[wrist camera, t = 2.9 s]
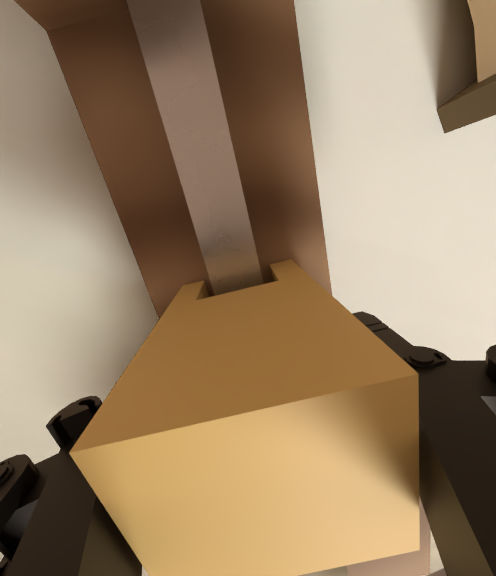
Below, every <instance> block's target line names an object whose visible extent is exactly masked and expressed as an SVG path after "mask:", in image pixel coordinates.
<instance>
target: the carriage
mask: <svg viewBox="0 0 496 576" xmlns="http://www.w3.org/2000/svg"><path fill="white" fill-rule="evenodd" d="M270 270H271V275H272V279H273V282H270V283H266V284H262V285H258V286H254V287H250V288H245V289H241V290H237V291H233V292H229V293H225V294H220V295H216V296H212V297H209V294H208V291H207V288H206V285H205V281H204V280H203V281H199V282H195V283H191V284H187V285H183V286H182V287H181V289H180V290H179V292H178V293H177V294H176V296H175V297H174V299H173V300H172V302H171V303H170V305H169V306H168V308H167V309H166V311H165V312H164V314H163V315H162V317H161V318H160V320H159V321H158V322H157V324H156V325H155V327H154V328H153V330H152V331H151V333H150V334H149V336H148V337H147V339H146V340H145V342H144V343H143V345H142V346H141V348H140V349H139V350H138V352H137V353H136V355H135V356H134V358H133V359H132V361H131V362H130V364H129V365H128V367H127V368H126V370H125V371H124V373H123V374H122V376H121V377H120V378H119V380H118V381H117V383H116V384H115V386H114V387H113V389H112V390H111V392H110V393H109V395H108V396H107V398H106V399H105V401H104V402H103V404H102V405H101V406H100V408H99V409H98V411H97V412H96V414H95V415H94V417H93V418H92V420H91V421H90V423H89V424H88V426H87V427H86V429H85V430H84V432H83V433H82V434H81V436H80V437H79V439H78V440H77V442H76V443H75V445H74V446H73V448H72V449H71V451H70V452H69V454H70V455H71V457H72V458H73V460H74V462H75V463H76V465H77V466H78V468H79V469H80V471H81V472H82V474H83V475H84V477H85V478H86V480H87V481H88V483H89V484H90V486H91V487H92V489H93V490H94V492H95V494H96V495H97V497H98V498H99V500H100V501H101V503H102V504H103V506H104V507H105V509H106V510H107V512H108V513H109V515H110V516H111V518H112V519H113V521H114V523H115V524H116V526H117V527H118V529H119V530H120V532H121V533H122V535H123V536H124V538H125V539H126V541H127V542H128V544H129V545H130V547H131V548H132V550H133V551H134V553H135V555H136V556H137V558H138V559H139V561H140V562H141V564H142V565H143V567H144V568H145V570H146V571H147V573H148V574H149V576H299V575H303V574H308V573H313V572H318V571H323V570H327V569H332V568H337V567H342V566H346V565H351V564H356V563H361V562H366V561H370V560H375V559H380V558H385V557H389V556H394V555H399V554H404V553H409V552H413V551H418V550H420V519H419V382H418V373H417V372H416V371H415V370H414V369H413V368H412V367H410V366H409V365H408V364H407V363H406V362H405V361H404V360H403V359H402V358H400V357H399V356H398V355H397V354H396V353H395V352H394V351H393V350H392V349H390V348H389V347H388V346H387V345H386V344H385V343H384V342H383V341H382V340H380V339H379V338H378V337H377V336H376V335H375V334H374V333H373V332H372V331H370V330H369V329H368V328H367V327H366V326H365V325H364V324H363V323H362V322H360V321H359V320H358V319H357V318H356V317H355V316H354V315H353V314H352V313H350V312H349V311H348V310H347V309H346V308H345V307H344V306H343V305H342V304H340V303H339V302H338V301H337V300H336V299H335V298H334V297H333V296H332V295H330V294H329V293H328V292H327V291H326V290H325V289H324V288H323V287H322V286H320V285H319V284H318V283H317V282H316V281H315V280H314V279H313V278H312V277H310V276H309V275H308V274H307V273H306V272H305V271H304V270H303V269H302V268H300V267H299V266H298V265H297V264H296V263H295V262H294V261H293V260H292V259H290V260H286V261H282V262H278V263H274V264H270Z"/></svg>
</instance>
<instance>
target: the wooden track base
mask: <svg viewBox="0 0 496 576" xmlns="http://www.w3.org/2000/svg"><path fill="white" fill-rule="evenodd" d="M14 1H15V2H16V3H17V4H19V5H20V6H21V7H22V8H23V9H24V10H25V11H26V12H27V13H28V14H29V15H30V16H31V17H32V18H33V19H34V20H36V21H37V22H38V23H39V24H40V25H41V26H42V27H43V28H44V29H45V30H46V31H47V34H48V36H49V39H50V41H51V44H52V46H53V49H54V51H55V54H56V57H57V59H58V62H59V64H60V67H61V69H62V72H63V74H64V77H65V80H66V82H67V85H68V87H69V90H70V92H71V95H72V97H73V100H74V103H75V105H76V108H77V110H78V113H79V115H80V118H81V120H82V123H83V126H84V128H85V131H86V133H87V136H88V138H89V141H90V143H91V146H92V149H93V151H94V154H95V156H96V159H97V161H98V164H99V166H100V169H101V172H102V174H103V177H104V179H105V182H106V184H107V187H108V189H109V192H110V195H111V197H112V200H113V202H114V205H115V207H116V210H117V212H118V215H119V218H120V220H121V223H122V225H123V228H124V230H125V233H126V235H127V238H128V241H129V243H130V246H131V248H132V251H133V253H134V256H135V258H136V261H137V264H138V266H139V269H140V271H141V274H142V276H143V279H144V281H145V284H146V287H147V289H148V292H149V294H150V297H151V299H152V302H153V304H154V307H155V310H156V312H157V315H158V317H159V320H160V318H161V317H162V315H163V314H164V312H165V311H166V309H167V308H168V306H169V305H170V303H171V302H172V300H173V299H174V297H175V296H176V294H177V293H178V292H179V290H180V289H181V287H182V286H183V285H187V284H191V283H195V282H199V281H203V280H204V281H205V285H206V288H207V291H208V294H209V297H212V296H215V295H214V292H213V289H212V285H211V282H210V279H209V275H208V272H207V269H206V265H205V262H204V259H203V255H202V252H201V249H200V245H199V242H198V239H197V235H196V232H195V229H194V225H193V222H192V218H191V215H190V212H189V208H188V205H187V202H186V198H185V195H184V192H183V188H182V185H181V182H180V178H179V175H178V172H177V168H176V165H175V162H174V158H173V155H172V152H171V148H170V145H169V142H168V138H167V135H166V131H165V128H164V125H163V121H162V118H161V115H160V111H159V108H158V105H157V101H156V98H155V95H154V91H153V88H152V85H151V81H150V78H149V75H148V71H147V68H146V65H145V61H144V58H143V55H142V51H141V48H140V45H139V41H138V38H137V34H136V31H135V28H134V24H133V21H132V18H131V14H130V11H129V8H128V4H127V1H126V0H14ZM200 3H201V7H202V12H203V16H204V20H205V25H206V29H207V34H208V38H209V43H210V47H211V52H212V56H213V61H214V65H215V69H216V74H217V78H218V83H219V87H220V92H221V96H222V101H223V105H224V109H225V114H226V118H227V123H228V127H229V132H230V136H231V141H232V145H233V150H234V154H235V158H236V163H237V167H238V172H239V176H240V181H241V185H242V190H243V194H244V199H245V203H246V207H247V212H248V216H249V221H250V225H251V230H252V234H253V239H254V243H255V247H256V252H257V256H258V261H259V265H260V270H261V274H262V279H263V283H264V284H266V283H270V282H273V279H272V275H271V270H270V264H274V263H278V262H282V261H286V260H290V259H292V260H293V261H294V262H295V263H296V264H297V265H298V266H299V267H300V268H302V269H303V270H304V271H305V272H306V273H307V274H308V275H309V276H310V277H312V278H313V279H314V280H315V281H316V282H317V283H318V284H319V285H320V286H322V287H323V288H324V289H325V290H326V291H327V292H328V293H329V294H330V295H332V291H331V283H330V276H329V268H328V260H327V253H326V245H325V237H324V230H323V222H322V214H321V207H320V199H319V191H318V184H317V176H316V168H315V161H314V153H313V145H312V138H311V130H310V122H309V115H308V107H307V99H306V92H305V84H304V76H303V69H302V61H301V53H300V45H299V38H298V30H297V22H296V15H295V7H294V0H200ZM419 519H420V550H418V551H413V552H409V553H404V554H399V555H394V556H389V557H385V558H380V559H375V560H370V561H366V562H361V563H356V564H351V565H346V566H342V567H337V568H332V569H327V570H323V571H318V572H313V573H308V574H303V575H299V576H422V575H426V574H430V529H431V528H430V525H429V522H428V519H427V517H426V514H425V511H424V508H423V505H422V502H421V499H420V496H419Z"/></svg>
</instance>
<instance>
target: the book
mask: <svg viewBox="0 0 496 576" xmlns="http://www.w3.org/2000/svg"><path fill="white" fill-rule="evenodd" d="M467 1H468V5H469V9H470V12H471V16H472V20H473V24H474V32H475V48H476V63H477V79H478V80H477V81H475V82H474V83H473V84H471V85H470V86H468V87H467V88H466V89H464V90H463V91H462V92H460V93H459V94H457V95H456V96H455V97H453V98H452V99H450V100H449V101H448V102H446V103H445V104H444V105H442V106H441V107H439V108H438V109H437V112H438V115H439V118H440V121H441V124H442V127H443V130H444V133H447V132H450V131H452V130H455V129H458V128H461V127H463V126H466V125H469V124H471V123H474V122H477V121H480V120H482V119H485V118H488V117H491V116H493V115H496V0H467Z"/></svg>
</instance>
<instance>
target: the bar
mask: <svg viewBox="0 0 496 576" xmlns="http://www.w3.org/2000/svg"><path fill="white" fill-rule="evenodd" d="M126 1H127V4H128V8H129V11H130V14H131V18H132V21H133V24H134V28H135V31H136V34H137V38H138V41H139V45H140V48H141V51H142V55H143V58H144V61H145V65H146V68H147V71H148V75H149V78H150V81H151V85H152V88H153V91H154V95H155V98H156V101H157V105H158V108H159V111H160V115H161V118H162V121H163V125H164V128H165V131H166V135H167V138H168V142H169V145H170V148H171V152H172V155H173V158H174V162H175V165H176V168H177V172H178V175H179V178H180V182H181V185H182V188H183V192H184V195H185V198H186V202H187V205H188V208H189V212H190V215H191V218H192V222H193V225H194V229H195V232H196V235H197V239H198V242H199V245H200V249H201V252H202V255H203V259H204V262H205V265H206V269H207V272H208V275H209V279H210V282H211V285H212V289H213V292H214V295H215V296H216V295H220V294H225V293H229V292H233V291H237V290H241V289H245V288H250V287H254V286H258V285H262V284H264V283H263V279H262V274H261V270H260V265H259V261H258V256H257V252H256V247H255V243H254V239H253V234H252V230H251V225H250V221H249V216H248V212H247V207H246V203H245V199H244V194H243V190H242V185H241V181H240V176H239V172H238V167H237V163H236V158H235V154H234V150H233V145H232V141H231V136H230V132H229V127H228V123H227V118H226V114H225V109H224V105H223V101H222V96H221V92H220V87H219V83H218V78H217V74H216V69H215V65H214V61H213V56H212V52H211V47H210V43H209V38H208V34H207V29H206V25H205V20H204V16H203V12H202V7H201V3H200V0H126Z"/></svg>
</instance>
